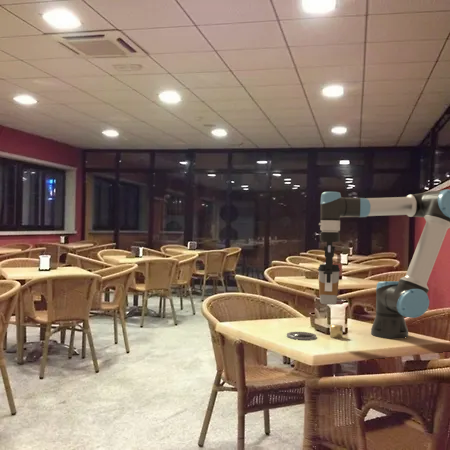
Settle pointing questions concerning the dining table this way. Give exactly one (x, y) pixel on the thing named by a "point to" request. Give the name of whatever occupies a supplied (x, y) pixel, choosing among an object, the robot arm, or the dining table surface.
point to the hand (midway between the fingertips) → (328, 289)
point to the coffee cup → (331, 296)
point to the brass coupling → (336, 331)
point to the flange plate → (301, 335)
